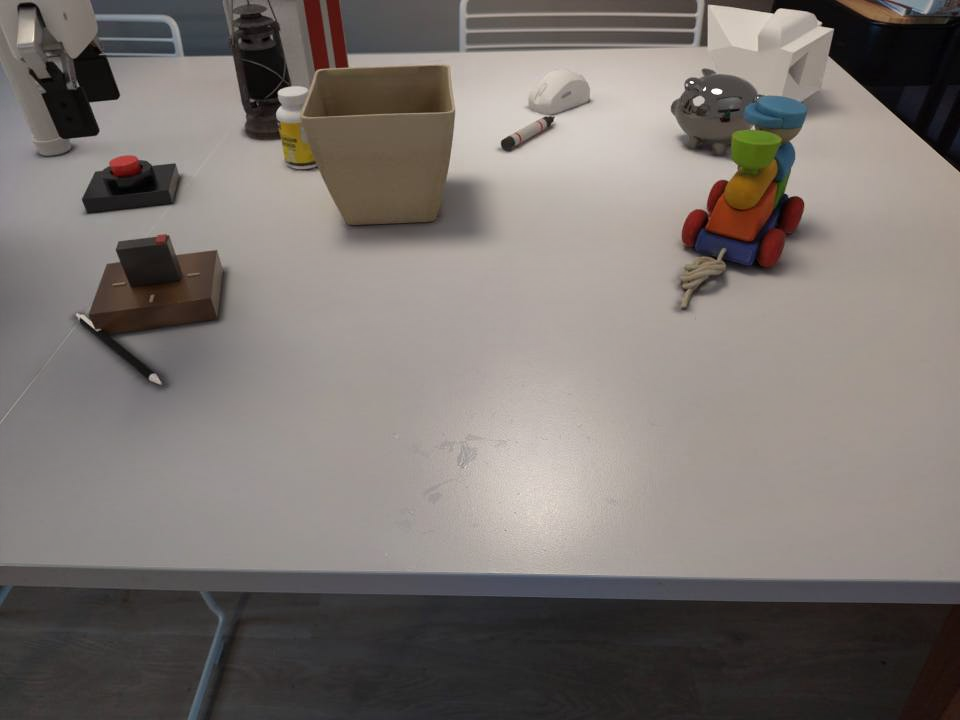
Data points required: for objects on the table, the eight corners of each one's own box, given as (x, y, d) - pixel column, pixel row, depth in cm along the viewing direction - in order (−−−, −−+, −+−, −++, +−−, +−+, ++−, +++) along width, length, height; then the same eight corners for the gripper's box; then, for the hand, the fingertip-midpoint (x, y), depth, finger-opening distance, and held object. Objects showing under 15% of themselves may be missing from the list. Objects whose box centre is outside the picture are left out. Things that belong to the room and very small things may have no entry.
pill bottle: (283, 158, 114) (268, 87, 107) (321, 152, 116) (309, 81, 109) (289, 173, 110) (274, 100, 102) (329, 166, 111) (317, 94, 104)
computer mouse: (524, 108, 131) (524, 74, 127) (569, 92, 137) (571, 59, 133) (548, 117, 127) (550, 82, 123) (594, 100, 134) (597, 66, 130)
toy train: (638, 296, 81) (659, 162, 71) (715, 201, 100) (741, 84, 89) (741, 328, 76) (781, 189, 65) (802, 221, 95) (841, 99, 84)
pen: (82, 316, 80) (78, 308, 79) (166, 385, 70) (163, 377, 70) (75, 319, 80) (71, 311, 79) (158, 389, 70) (155, 381, 69)
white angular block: (817, 19, 112) (855, 9, 122) (687, -1, 125) (732, -8, 135) (786, 124, 122) (823, 107, 132) (669, 95, 135) (712, 82, 145)
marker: (510, 151, 115) (510, 140, 114) (500, 149, 116) (500, 137, 115) (558, 124, 124) (559, 113, 123) (549, 121, 125) (549, 111, 124)
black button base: (87, 213, 100) (76, 187, 98) (100, 184, 108) (90, 160, 105) (172, 203, 102) (164, 178, 99) (179, 176, 110) (172, 152, 107)
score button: (110, 178, 101) (106, 167, 100) (115, 167, 104) (111, 156, 103) (139, 175, 101) (135, 164, 100) (143, 164, 104) (139, 153, 103)
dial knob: (130, 287, 79) (114, 247, 76) (133, 278, 80) (117, 239, 77) (180, 280, 80) (166, 241, 76) (181, 272, 81) (168, 233, 78)
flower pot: (460, 233, 94) (455, 110, 83) (320, 240, 93) (297, 116, 82) (454, 174, 108) (450, 63, 98) (334, 180, 107) (316, 68, 97)
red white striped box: (352, 78, 147) (333, -69, 129) (319, 106, 133) (293, -53, 116) (281, 74, 150) (254, -70, 132) (242, 101, 136) (206, -55, 119)
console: (98, 336, 77) (87, 313, 75) (115, 284, 85) (106, 262, 83) (217, 319, 79) (210, 296, 77) (223, 270, 87) (216, 248, 85)
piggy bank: (680, 126, 123) (692, 58, 115) (764, 144, 116) (781, 73, 108) (653, 146, 116) (664, 76, 108) (741, 167, 109) (758, 93, 101)
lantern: (273, 113, 131) (235, -70, 112) (319, 121, 127) (287, -67, 108) (229, 136, 122) (179, -58, 103) (276, 145, 119) (233, -54, 100)
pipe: (33, 150, 119) (-55, -48, 100) (71, 140, 122) (-8, -54, 103) (43, 159, 116) (-47, -44, 96) (82, 149, 119) (2, -50, 100)
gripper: (-11, -113, 58) (71, 92, 69) (-97, -92, 45) (22, 158, 56) (83, -118, 59) (149, 84, 70) (25, -99, 46) (118, 147, 57)
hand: (93, 117), depth 63 cm, fingers open, 9 cm apart
